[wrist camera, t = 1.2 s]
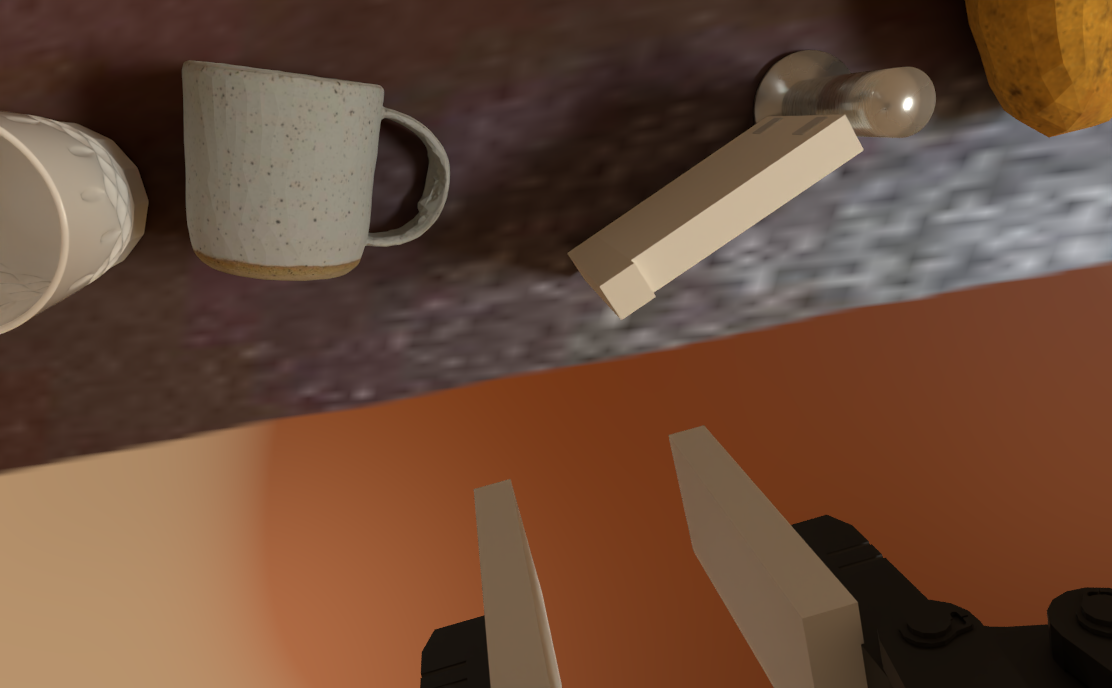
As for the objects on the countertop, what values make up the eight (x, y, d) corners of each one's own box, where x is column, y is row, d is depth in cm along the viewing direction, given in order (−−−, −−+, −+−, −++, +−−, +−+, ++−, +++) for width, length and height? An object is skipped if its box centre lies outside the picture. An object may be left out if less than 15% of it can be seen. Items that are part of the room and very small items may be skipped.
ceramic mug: (210, 248, 38) (159, 279, 31) (211, 63, 36) (156, 48, 29) (442, 266, 40) (445, 298, 33) (454, 90, 38) (460, 83, 31)
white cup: (186, 266, 38) (101, 313, 29) (12, 303, 38) (-134, 364, 28) (129, 91, 36) (16, 79, 27) (-57, 127, 36) (-241, 129, 26)
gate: (766, 115, 39) (851, 113, 31) (783, 146, 40) (871, 151, 32) (566, 252, 40) (598, 285, 32) (585, 280, 40) (622, 320, 32)
